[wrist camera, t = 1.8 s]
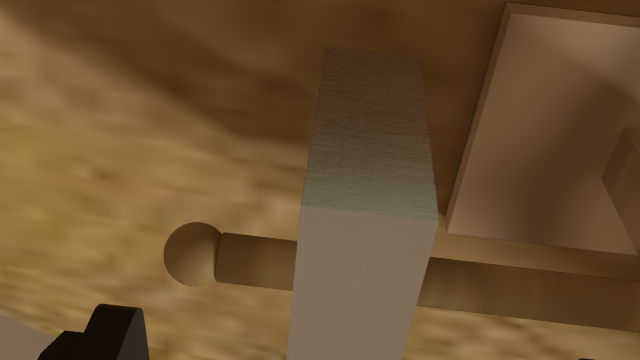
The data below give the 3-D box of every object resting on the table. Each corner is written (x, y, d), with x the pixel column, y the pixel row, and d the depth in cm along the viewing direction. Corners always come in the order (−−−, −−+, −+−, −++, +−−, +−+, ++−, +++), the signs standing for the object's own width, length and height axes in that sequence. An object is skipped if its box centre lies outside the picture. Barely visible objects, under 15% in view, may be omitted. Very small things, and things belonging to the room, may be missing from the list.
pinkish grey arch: (419, 56, 19) (439, 221, 13) (381, 239, 24) (382, 424, 18) (326, 45, 19) (300, 205, 13) (307, 230, 24) (281, 412, 18)
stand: (765, 32, 21) (1036, 254, 12) (645, 241, 27) (771, 489, 19) (226, -31, 21) (120, 146, 13) (227, 192, 27) (156, 415, 19)
